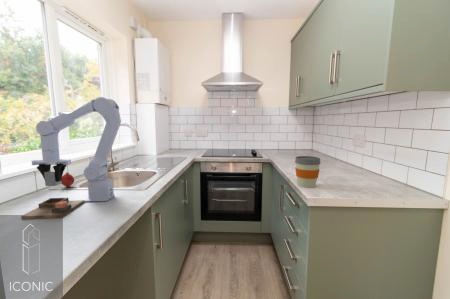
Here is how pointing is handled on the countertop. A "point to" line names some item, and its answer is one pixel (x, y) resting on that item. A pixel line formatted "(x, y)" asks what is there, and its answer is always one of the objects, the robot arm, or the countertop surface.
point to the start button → (61, 204)
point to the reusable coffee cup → (307, 171)
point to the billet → (51, 178)
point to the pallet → (52, 209)
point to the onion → (67, 180)
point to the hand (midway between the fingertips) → (53, 181)
